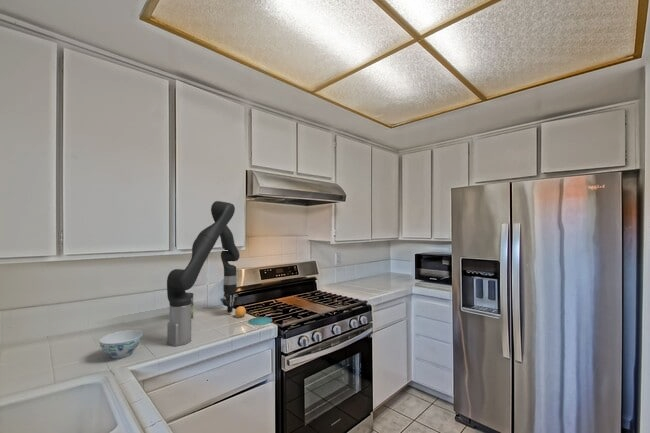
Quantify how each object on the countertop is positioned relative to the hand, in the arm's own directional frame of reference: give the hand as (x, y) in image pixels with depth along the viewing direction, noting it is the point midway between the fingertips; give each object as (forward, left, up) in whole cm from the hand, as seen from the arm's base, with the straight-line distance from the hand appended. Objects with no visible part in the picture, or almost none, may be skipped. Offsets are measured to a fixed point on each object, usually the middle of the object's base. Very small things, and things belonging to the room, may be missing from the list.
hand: (230, 312), depth 184 cm
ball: (0, -8, +2) cm, 8 cm away
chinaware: (-62, -2, -2) cm, 62 cm away
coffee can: (-19, +17, -2) cm, 25 cm away
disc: (0, -23, -2) cm, 23 cm away
